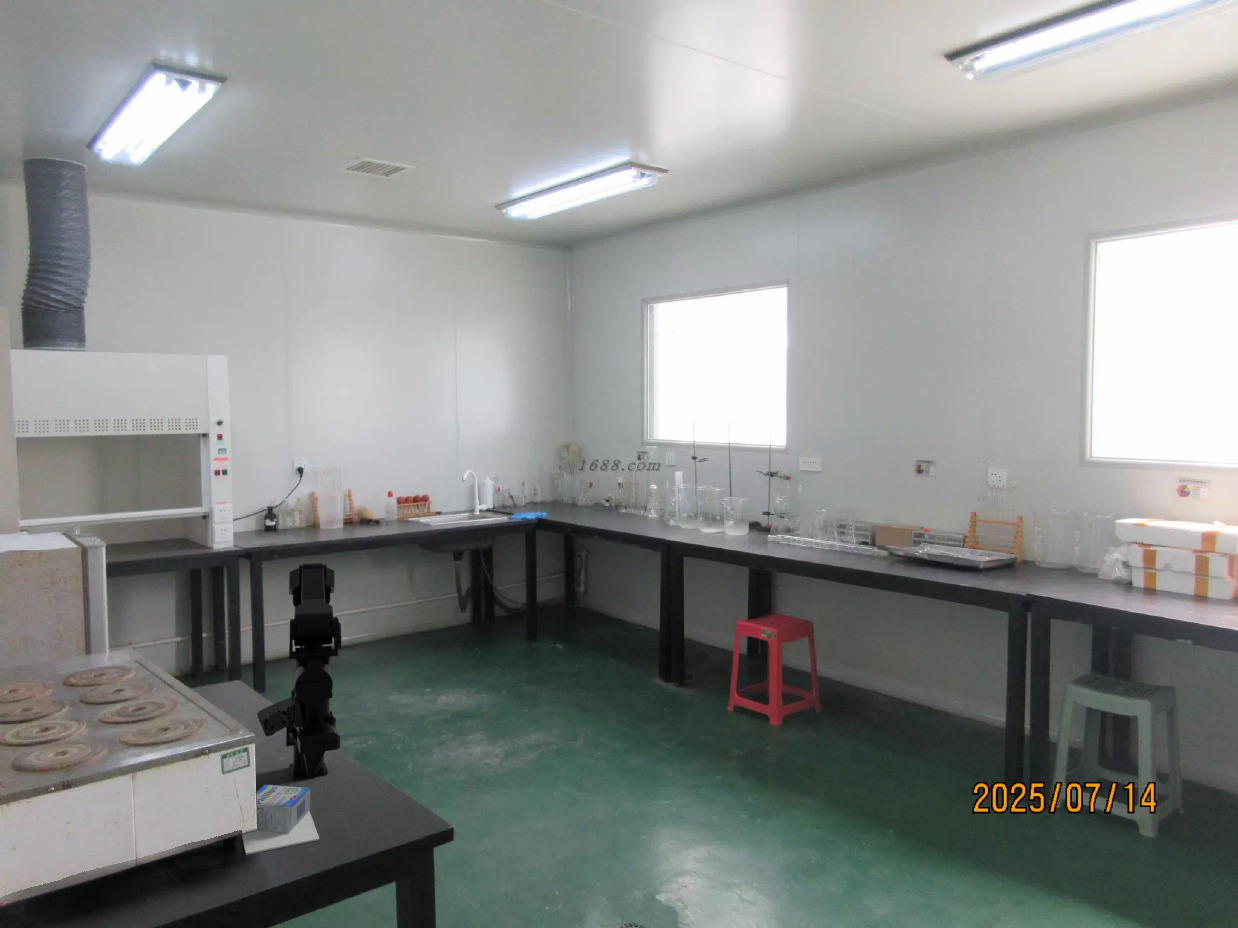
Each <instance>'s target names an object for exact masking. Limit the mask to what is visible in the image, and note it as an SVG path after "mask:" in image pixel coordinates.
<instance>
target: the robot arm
mask: <svg viewBox="0 0 1238 928" xmlns="http://www.w3.org/2000/svg"><path fill="white" fill-rule="evenodd" d="M288 573H289V575H288V595H289V596H292V604H293V607H294V618H290V619H289V646H288V647H289V650H288V652H289V653H288V654H289V655H288V659H289V660H293V659H294V687H292V689H291V690H290V697H289V698H286V699H283V700H280V701H278V702H276V703H273V704H271V705H268V706H266V707H265V708H262V709H261V710H259V711H257V713H256V715H257V718H258V721H259V724H260V726H261V728H262V731H263V733H264V735H265V737H271V736H273V735H275V734H276V733H278V732H279V731H282V730H283V729H285V728H286V737H285V738H286V739H285V740H286V741H285V742H286V743H285V747H290V746H291V747H292V746H293V747H292V751H293V752H292V763H290V764H289V765H288V769H289V772H290V774H291V777H292V778H291V779H292V780H300V779H305V778H311V777H317V776H322V775H328V774H329V770H328V768H327V765H326V763H325V753H326V752H329V751H337V750H339V749H340V748H341V735H340V733H339V731H338V730H337V729H336V723H337V722H336V721H337V719H336V717H335V716H334V714H333V711H332V710H331V699H333V687H334V682H333V673H332V667H331V663H332V660H331V659H332V657H338V656H339V650H342V623H341V622H340V621H339V620H340V619H339V617H338V616H334V607H333V605H331V604H330V602H331V594H335V589H336V588H335V586H336V585H335V577H336V576H335V574H336V573H335V570H333V569H332V568H329V567H328V566H327V564H326V563H323V562H314V563H313V562H312V563H311V562H310V563H302V564H299V565H298V567H297V568H295V569H292V570H291V571H289V572H288ZM332 644H333V646H332ZM294 647H295V648H294ZM293 649H294V650H293Z"/></svg>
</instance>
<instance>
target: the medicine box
mask: <svg viewBox="0 0 1238 928" xmlns="http://www.w3.org/2000/svg"><path fill="white" fill-rule="evenodd" d="M256 792H257V823H258V829H257V831H269V832H284V833H289V832H290V831H291V830H292V829H293V828H294V827H295V826H296V825H297V824H298V823H299V822H300V821H301V819H302V818H303V817H304V816H305V815H306V814H307V813H308V812H309V811H310V810H311V809H310V808H311V789H310V788H309V787H304V786H303V787H302V786H300V787H299V786H288V785H285V786H284V785H275V784H263V785H262V786H261V787H260V788H259V789H257V791H256Z"/></svg>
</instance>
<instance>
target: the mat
mask: <svg viewBox="0 0 1238 928" xmlns="http://www.w3.org/2000/svg"><path fill="white" fill-rule="evenodd" d="M241 837H242V843H243V848H244V852H245V853H246V854H245V856H248V855H253V854H258V853H262V852H266V851H267V852H268V851H271V850H278V849H283V848H287V847H293V846H297V845H303V844H306V843H307V844H308V843H312V842H317V841H320V836H319V834H318V831H317V828H316V826H315V822H314V819H313V817H312V814H311V812H310V811H309V812H308V813H307V814H306V815H305V816H304V817H303V818H302V819H301V821H300V822H299V823H298V824H297V825H296V826H295V827H294V828H293V829H292V830H291V831H290V832H289V833H284V832H269V831H256V832H251V833H247V834H246V835H242V834H241Z"/></svg>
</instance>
